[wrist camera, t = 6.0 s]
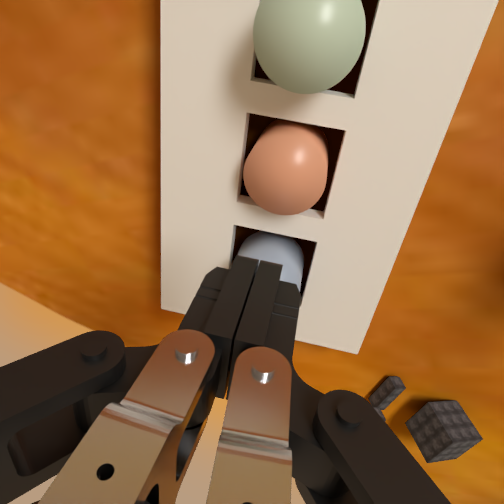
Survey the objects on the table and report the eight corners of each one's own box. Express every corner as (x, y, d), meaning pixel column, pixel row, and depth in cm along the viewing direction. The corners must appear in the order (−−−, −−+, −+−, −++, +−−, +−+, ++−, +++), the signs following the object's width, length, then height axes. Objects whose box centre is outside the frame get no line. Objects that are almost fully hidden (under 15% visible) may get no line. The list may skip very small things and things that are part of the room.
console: (515, -101, 16) (545, -118, 14) (356, 324, 30) (357, 354, 27) (186, -142, 18) (160, -165, 15) (175, 283, 31) (161, 308, 28)
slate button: (310, 237, 24) (305, 276, 21) (297, 291, 26) (290, 333, 23) (243, 223, 25) (227, 259, 21) (236, 277, 27) (220, 317, 24)
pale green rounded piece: (373, -20, 17) (380, -24, 14) (347, 84, 19) (348, 102, 16) (276, -35, 17) (260, -42, 14) (263, 69, 20) (246, 84, 16)
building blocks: (455, 458, 31) (377, 470, 28) (417, 395, 35) (344, 399, 32) (482, 439, 30) (402, 449, 26) (439, 374, 34) (364, 376, 30)
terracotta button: (336, 122, 22) (335, 145, 19) (320, 191, 24) (316, 222, 21) (262, 109, 22) (248, 128, 19) (253, 178, 25) (239, 206, 21)
